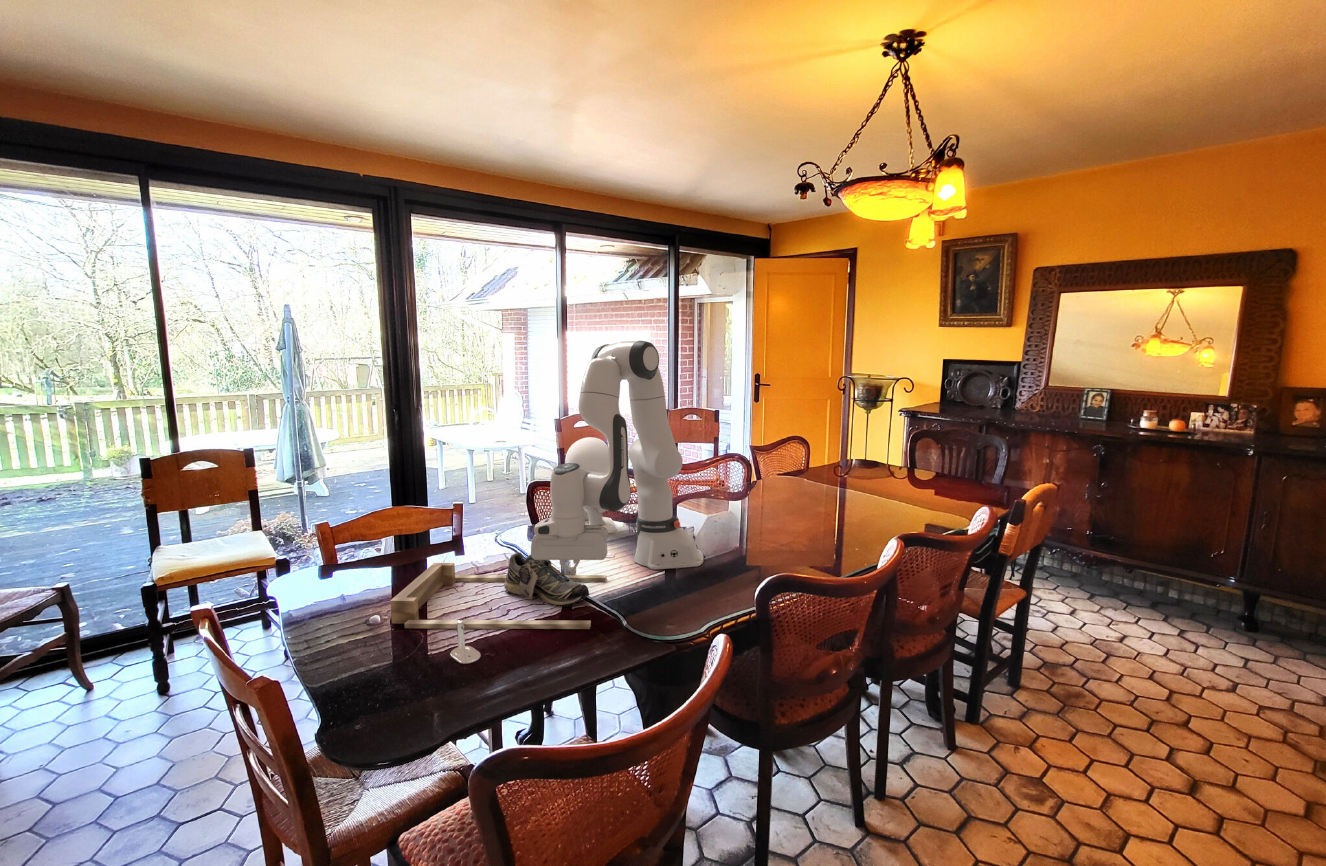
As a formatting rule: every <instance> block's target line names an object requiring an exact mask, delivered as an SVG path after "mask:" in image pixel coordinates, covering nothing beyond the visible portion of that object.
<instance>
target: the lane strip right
mask: <svg viewBox="0 0 1326 866" xmlns="http://www.w3.org/2000/svg"><path fill="white" fill-rule="evenodd" d="M506 575H507V574H463V575H462V574H455V579H456V582H457V583H458V582H462V583H463V582H465V583H466V582H467V583H468V582H470V583H471V582H473V583H474V582H478V583H479V582H481V583H482V582H483V583H484V582H488V583H489V582H493V583H494V582H499V583H500V582H501V583H505V581H506ZM565 576H567V577H568V578H569V579H571V580H572V581H573V582H575V583H579V582H580V583H582V582H585V583H586V582H590V583H591V582H592V583H593V582H594V583H596V582H597V583H598V582H600V583H601V582H602V583H603V582H604V583H605V582H607V575H606V574H601V575H600V574H597V575H596V574H589V575H588V574H576V575H569V576H568V575H565ZM571 577H572V578H571ZM573 578H574V579H575V580H574V579H573ZM576 580H577V581H578V582H577V581H576ZM456 582H455V583H456Z"/></svg>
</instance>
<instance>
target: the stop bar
mask: <svg viewBox="0 0 1326 866" xmlns="http://www.w3.org/2000/svg"><path fill="white" fill-rule="evenodd" d="M455 567H456V566H455V562H433V564H431V565H430V566H429V567H428V568H426V569H425V570H424V571H423V572H422V573H420V575H418V576H417V577H416V578H414V580H413V581H411V582H410V583H409V584H408V585H407V586H406V587H404V588H403V589H401V591H399V592H398V594H396V595H395V596H394V597H392V599H390V600H389V604H390V606H389V607H390V616H391V624H405V623H406V622H407V621H408V620H420V616H419V615H420V614H419V609H420V608H421V607H422V606H423V605H424V604H425V603H427V601H429V600H430V598H432V597H433V595H435V594H436V592H437V591H439V590H440V589H441V588H442V587H443V586H454V585H455V584H456V579H455V575H456V569H455Z"/></svg>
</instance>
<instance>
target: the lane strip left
mask: <svg viewBox="0 0 1326 866" xmlns="http://www.w3.org/2000/svg"><path fill="white" fill-rule="evenodd" d="M458 621H462V622H463V625H464V629H466V630H467V629H474V630H475V629H476V630H477V629H479V630H481V629H484V630H485V629H495V630H497V629H498V630H500V629H503V630H505V629H506V630H507V629H508V630H511V629H512V630H515V629H517V630H521V629H524V630H525V629H526V630H527V629H529V630H530V629H532V630H534V629H536V630H542V629H544V630H590V629H591V627H592V621H591V620H572V619H571V620H569V619H568V620H559V619H558V620H557V619H556V620H553V619H550V620H549V619H547V620H543V619H542V620H539V619H538V620H533V619H532V620H531V619H530V620H529V619H527V620H526V619H525V620H524V619H523V620H522V619H521V620H520V619H519V620H517V619H516V620H515V619H510V620H509V619H506V620H505V619H502V620H501V619H498V620H495V619H494V620H493V619H492V620H491V619H485V620H484V619H473V620H472V619H419V620H408V621H407V622H406V623H403V625H404V629H457V622H458Z"/></svg>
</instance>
